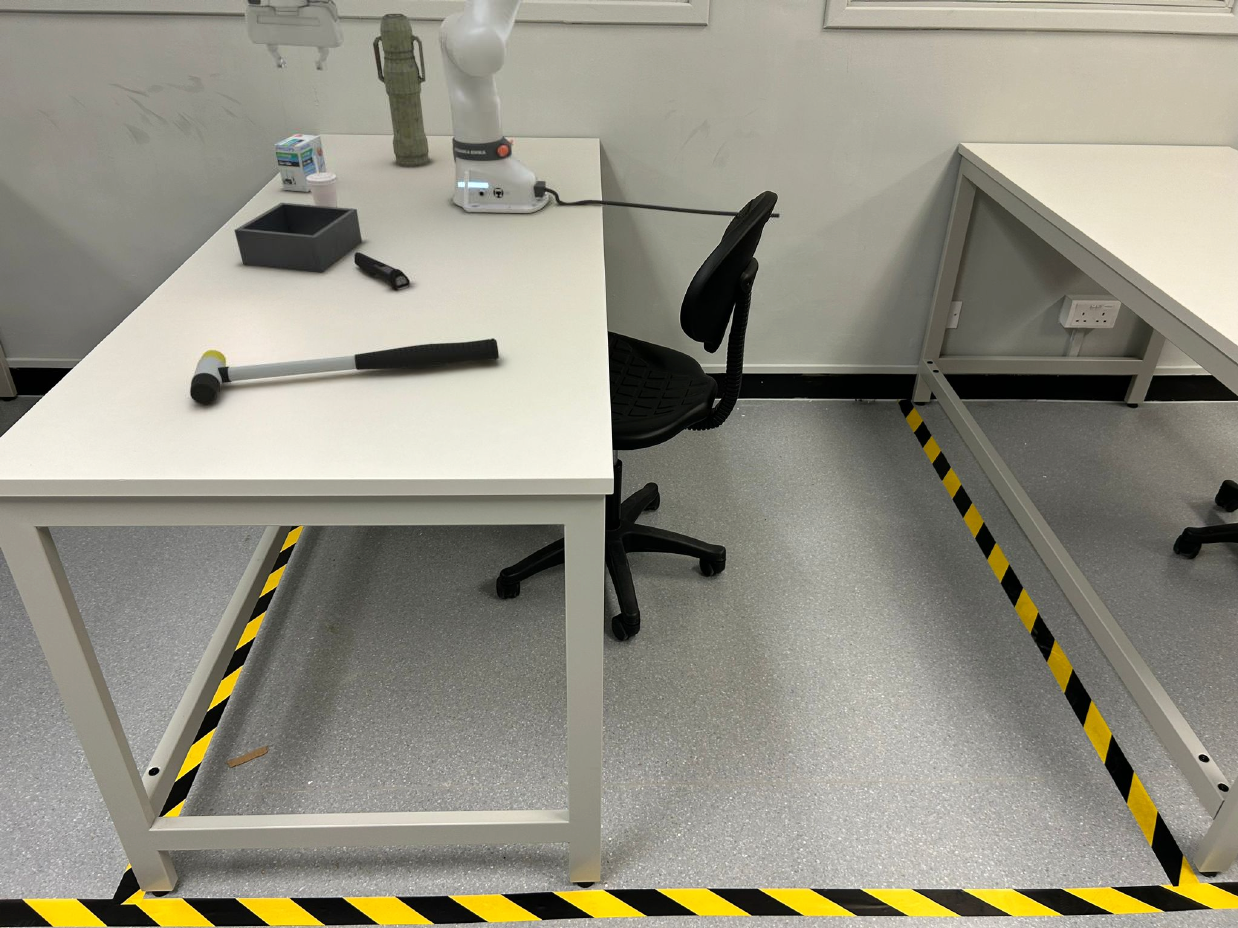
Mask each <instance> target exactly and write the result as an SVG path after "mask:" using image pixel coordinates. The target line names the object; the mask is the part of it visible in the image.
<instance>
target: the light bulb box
mask: <svg viewBox="0 0 1238 928" xmlns="http://www.w3.org/2000/svg"><path fill="white" fill-rule="evenodd" d="M273 146H274V151H275V155H276V160H277V166H278V170H279V174H280V178H281V184H282V188H283V191H293V192H294V191H295V192H306V193H308V192H311V190H310V187H309V184H307V180H306V177H307V176H309V175H311V174H315V173H316V167H315V162H314V157H313V156H316V158H317V164H318V169H319V173H328V172H327V167H326V162H325V155H324V151H323V150H324V149H323V145H322V139H321V136H320V135H311V134H302V133H301V134H300V133H295V134H294V135H292V136H290V137H287V138H285V139H283V140H281V141H279V142H277V143H275V144H273Z"/></svg>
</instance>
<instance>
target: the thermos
mask: <svg viewBox="0 0 1238 928" xmlns="http://www.w3.org/2000/svg"><path fill="white" fill-rule="evenodd" d="M379 31H380V32H379V33H380V36H376V37H375V39H374V41H373V42H372V46H373V52H374V58H375V65H376V70H377V79H378V80H379V81H380V82H381V83H383V84H384V87H385V92H386V95H387V97H388V102H389V109H390V117H391V125H392V132H393V137H392V138H393V139H392V148H393V154H394V156H395V164H396V165H398V166H399V167H403V168H416V167H417V168H418V167H422V166H426V165H428V164H429V163H430V157H429V151H430V149H429V143H428V137H427V134H426V132H425V126H424V116H423V109H422V99H421V93H422V83H424V82H426V69H425V68H426V67H425V60H424V50H423V49H424V48H423V41H422V40H421V39H420V37H419V36H418V35H414V34H413V28H412V25H411V23H410V21H409V18H408V16H407V15H404V14H403V13H386V14H384V16H381V20H380V27H379ZM415 41H416V43H417V45H418V55H419V62H420V68H419V66H418V63H417V60H416V55H415V52H414V51H415V45H414V42H415ZM379 42H381V48H382V52H383V55H384V56H383V66H382V60H381V59H382V58H381V53H380V52H381V51H380V44H379ZM420 70H421V71H420ZM420 72H421V73H420Z"/></svg>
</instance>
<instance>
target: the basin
mask: <svg viewBox="0 0 1238 928" xmlns="http://www.w3.org/2000/svg"><path fill="white" fill-rule="evenodd" d="M234 234H235V238H236V242H237V246H238V250H239V254H240V259H241V262H242V265H244V266H245V265H246V266H253V267H263V268H273V269H284V270H292V271H293V270H294V271H301V272H302V271H303V272H312V273H321V274H322V273H324V272H325V271H326V270H327V269H329V268H330V267H332V266H333V265H334V264H335V263H338V261H340V259H342V258H343V257H345V256H346V255H347V254H348V253H350V252H351V251H352V250H354V249H355V248H356V247H358V246H359V245H360V244H362V243H363V239H362V234H361V226H360V221H359V216H358V209H356V208H348V207H338V206H337V207H326V206H316V205H315V204H314V205H312V204H302V203H291V202H280V203H278V204H276V205H274V206H273V207H271V208H270V209H268V210H266V211H264V212H262V213H261V214H260V215H258V216H256V217H254V218H253V219H251V220H249V221H247V222H246V223H244V224H241V226H239V227H237V228H235V229H234Z"/></svg>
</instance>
